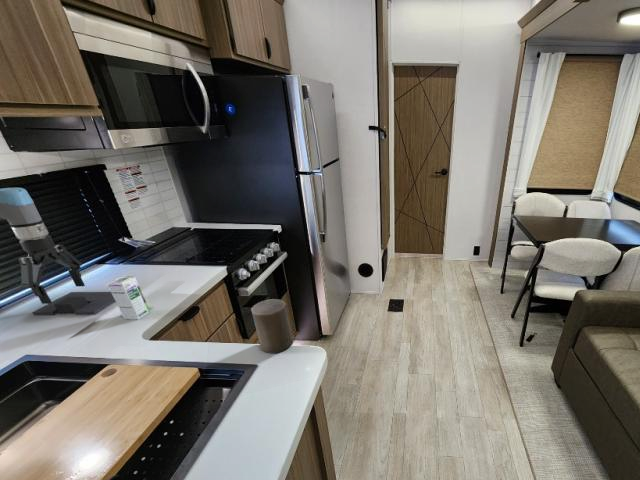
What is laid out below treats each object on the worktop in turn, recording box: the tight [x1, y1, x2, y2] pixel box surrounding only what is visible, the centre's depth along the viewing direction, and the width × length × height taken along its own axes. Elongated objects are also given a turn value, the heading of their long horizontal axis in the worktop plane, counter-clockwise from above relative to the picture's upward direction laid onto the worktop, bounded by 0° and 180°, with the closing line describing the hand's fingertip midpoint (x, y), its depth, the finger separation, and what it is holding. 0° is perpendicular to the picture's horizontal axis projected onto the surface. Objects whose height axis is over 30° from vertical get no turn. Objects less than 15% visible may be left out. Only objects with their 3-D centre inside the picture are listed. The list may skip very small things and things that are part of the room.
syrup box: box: [106, 275, 151, 320], centre depth 117 cm, size 6×6×14 cm
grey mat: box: [32, 291, 116, 316], centre depth 126 cm, size 22×16×2 cm
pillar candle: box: [250, 298, 294, 354], centre depth 100 cm, size 10×10×15 cm
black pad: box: [54, 297, 88, 315], centre depth 122 cm, size 6×6×5 cm
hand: (64, 294), depth 119 cm, fingers open, 13 cm apart
